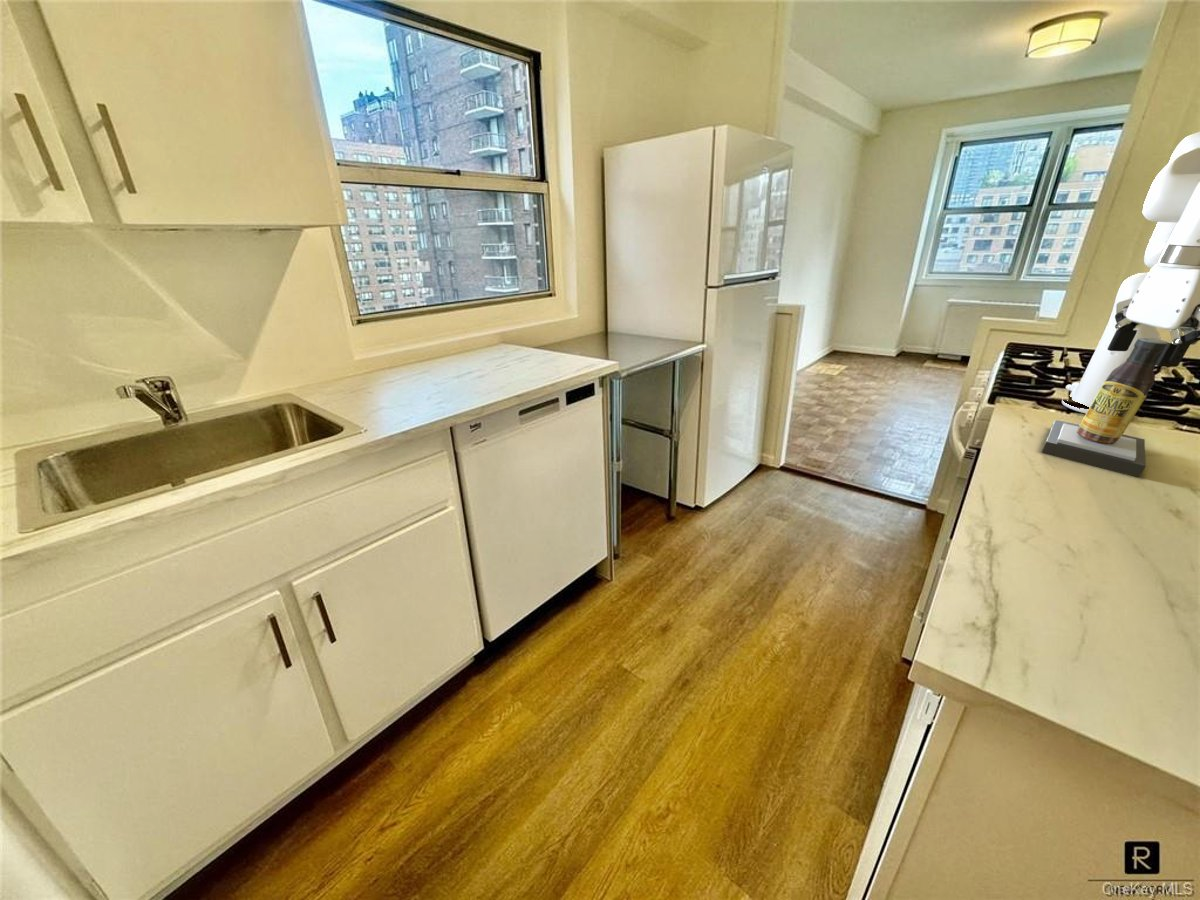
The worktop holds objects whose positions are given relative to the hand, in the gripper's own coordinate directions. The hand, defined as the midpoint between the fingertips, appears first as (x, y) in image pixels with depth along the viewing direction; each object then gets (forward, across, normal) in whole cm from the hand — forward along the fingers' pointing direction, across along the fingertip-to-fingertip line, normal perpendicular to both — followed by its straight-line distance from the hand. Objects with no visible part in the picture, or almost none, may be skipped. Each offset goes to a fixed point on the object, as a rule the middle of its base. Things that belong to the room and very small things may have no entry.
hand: (1140, 358), depth 88 cm
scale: (+20, +1, -1) cm, 20 cm away
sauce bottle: (+17, 0, 0) cm, 17 cm away
